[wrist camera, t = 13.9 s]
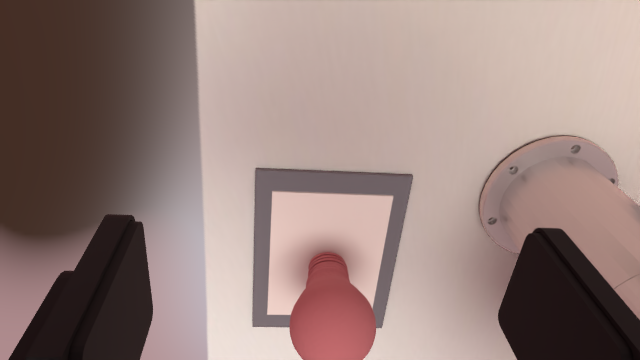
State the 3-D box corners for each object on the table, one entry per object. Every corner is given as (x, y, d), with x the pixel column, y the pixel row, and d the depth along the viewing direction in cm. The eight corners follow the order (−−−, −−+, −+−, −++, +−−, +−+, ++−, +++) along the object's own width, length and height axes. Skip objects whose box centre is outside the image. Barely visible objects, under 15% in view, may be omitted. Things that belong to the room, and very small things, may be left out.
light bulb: (293, 227, 45) (295, 325, 35) (367, 233, 46) (392, 330, 36) (285, 285, 48) (285, 389, 38) (354, 289, 49) (373, 392, 39)
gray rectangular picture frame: (255, 168, 42) (255, 171, 42) (411, 174, 44) (413, 177, 43) (252, 323, 52) (252, 328, 51) (381, 325, 53) (382, 329, 53)
